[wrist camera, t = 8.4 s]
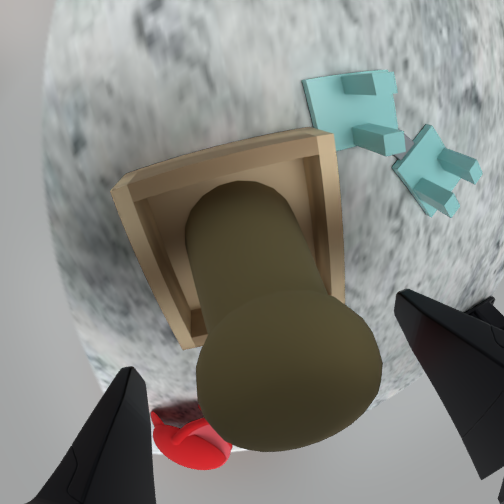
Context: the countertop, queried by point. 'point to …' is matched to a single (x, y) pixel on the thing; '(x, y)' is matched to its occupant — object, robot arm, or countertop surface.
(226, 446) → the red toy chair
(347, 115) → the clip
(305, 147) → the shallow tan tray
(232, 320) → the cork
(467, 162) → the clip
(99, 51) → the countertop surface
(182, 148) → the countertop surface
